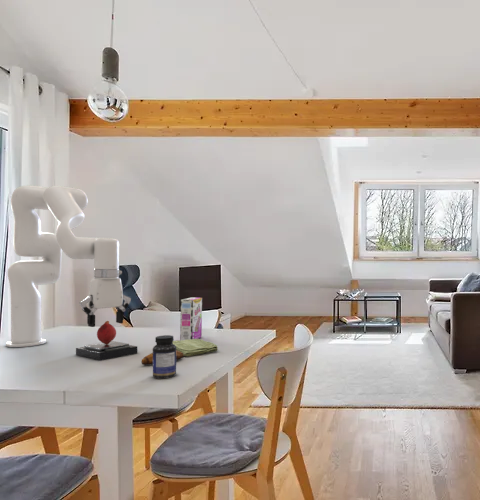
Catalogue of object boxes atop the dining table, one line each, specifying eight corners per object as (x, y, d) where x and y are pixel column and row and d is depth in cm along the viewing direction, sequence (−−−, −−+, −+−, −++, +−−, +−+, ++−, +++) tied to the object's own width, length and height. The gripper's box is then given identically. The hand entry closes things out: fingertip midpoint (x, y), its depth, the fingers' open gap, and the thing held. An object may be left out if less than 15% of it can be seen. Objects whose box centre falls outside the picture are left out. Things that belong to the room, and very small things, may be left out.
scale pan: (84, 347, 161) (84, 345, 161) (112, 343, 169) (113, 340, 169) (100, 351, 155) (100, 348, 155) (129, 346, 163) (129, 343, 163)
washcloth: (184, 358, 156) (184, 348, 156) (162, 350, 169) (162, 340, 169) (220, 352, 165) (220, 342, 165) (197, 345, 178) (197, 336, 178)
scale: (75, 355, 161) (75, 346, 161) (113, 348, 172) (113, 340, 172) (99, 360, 152) (99, 351, 152) (137, 353, 163) (137, 345, 163)
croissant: (147, 368, 142) (147, 351, 142) (136, 364, 147) (136, 348, 147) (188, 360, 152) (188, 344, 152) (177, 357, 157) (177, 342, 157)
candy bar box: (192, 342, 183) (192, 299, 183) (179, 342, 183) (179, 299, 183) (202, 337, 194) (202, 297, 194) (190, 337, 194) (190, 297, 194)
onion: (108, 346, 159) (107, 322, 159) (92, 345, 160) (92, 322, 160) (119, 343, 164) (119, 320, 164) (105, 342, 166) (105, 319, 166)
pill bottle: (156, 373, 136) (156, 334, 136) (178, 373, 136) (178, 334, 136) (149, 379, 129) (149, 338, 130) (172, 378, 130) (172, 338, 130)
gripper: (124, 273, 171) (123, 320, 172) (74, 274, 157) (73, 326, 157) (136, 273, 167) (135, 322, 167) (86, 275, 153) (85, 329, 153)
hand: (105, 324), depth 162 cm, fingers open, 9 cm apart
